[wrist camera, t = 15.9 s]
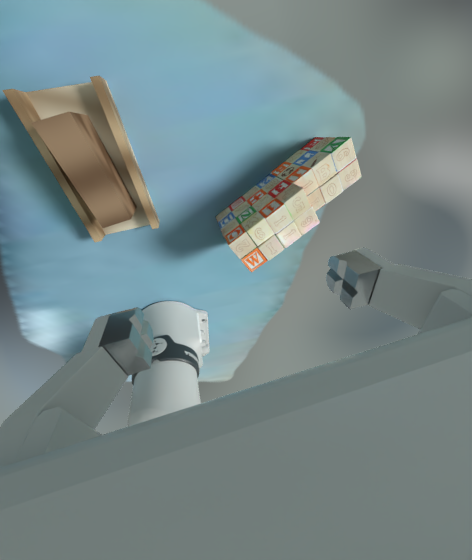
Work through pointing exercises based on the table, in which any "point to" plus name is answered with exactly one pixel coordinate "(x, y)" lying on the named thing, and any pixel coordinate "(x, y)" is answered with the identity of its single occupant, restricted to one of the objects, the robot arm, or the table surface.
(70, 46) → the table surface
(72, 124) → the walnut block
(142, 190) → the tan shallow tray
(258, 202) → the stack of blocks
